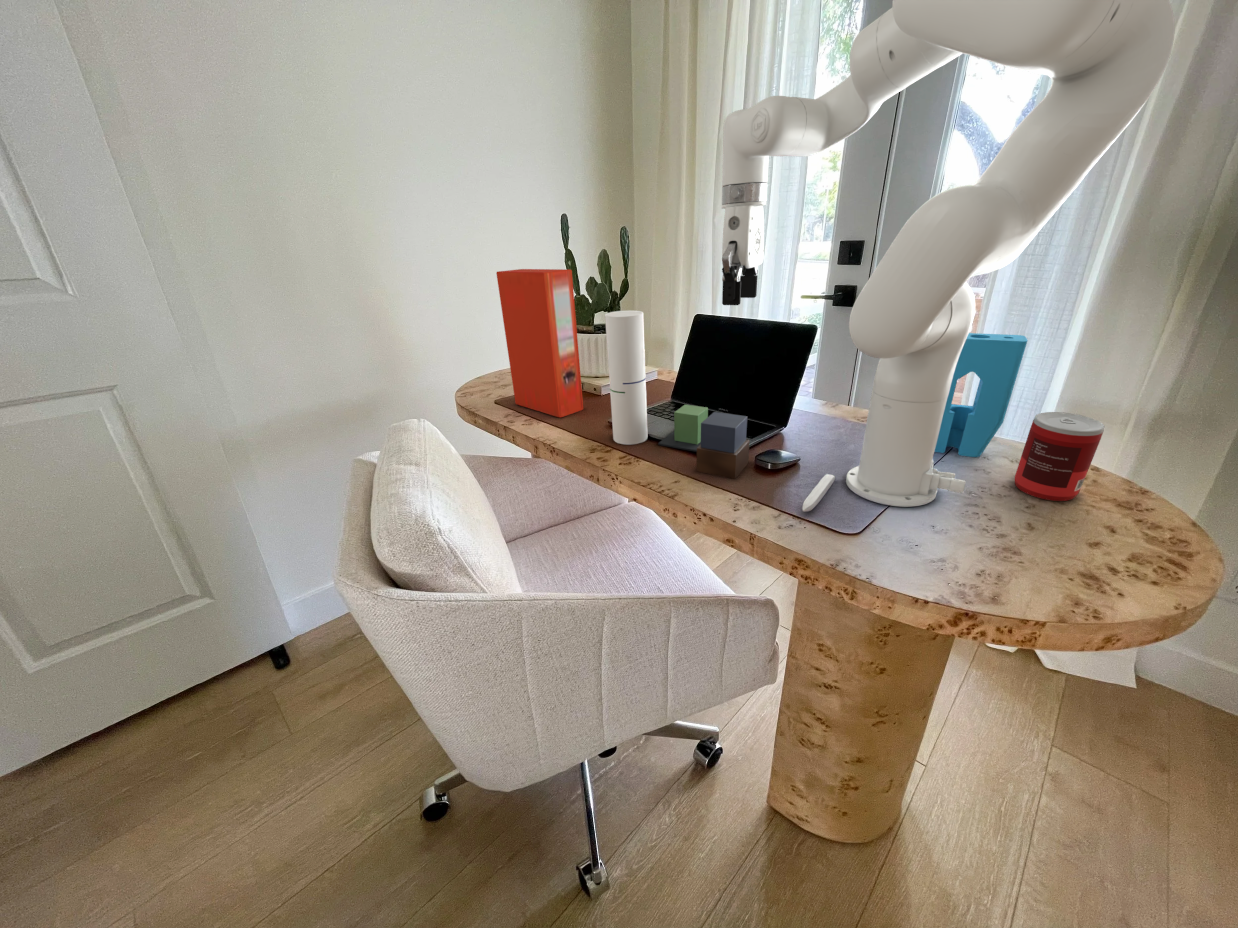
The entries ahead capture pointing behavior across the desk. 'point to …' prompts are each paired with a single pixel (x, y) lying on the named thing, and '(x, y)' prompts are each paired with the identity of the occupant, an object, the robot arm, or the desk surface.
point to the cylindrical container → (627, 375)
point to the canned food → (1057, 455)
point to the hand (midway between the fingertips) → (739, 301)
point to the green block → (689, 423)
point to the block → (981, 392)
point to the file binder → (542, 339)
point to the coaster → (678, 443)
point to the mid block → (723, 432)
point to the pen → (818, 492)
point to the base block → (723, 461)
